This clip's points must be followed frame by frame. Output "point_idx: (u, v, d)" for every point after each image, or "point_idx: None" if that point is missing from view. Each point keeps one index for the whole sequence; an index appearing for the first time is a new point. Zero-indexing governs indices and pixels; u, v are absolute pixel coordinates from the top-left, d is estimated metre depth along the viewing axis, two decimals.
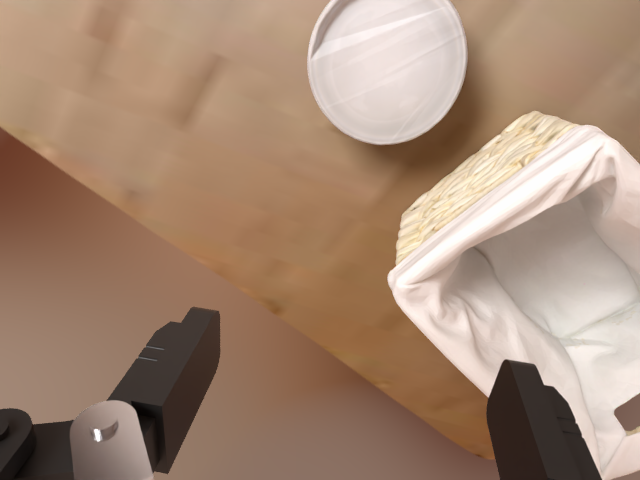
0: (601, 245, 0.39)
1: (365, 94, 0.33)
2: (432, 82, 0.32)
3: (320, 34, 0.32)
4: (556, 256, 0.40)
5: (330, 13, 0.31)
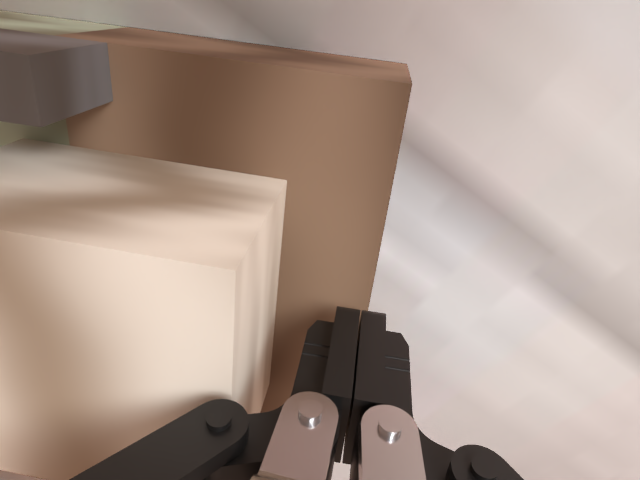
0: None
1: None
2: None
3: None
4: None
5: None
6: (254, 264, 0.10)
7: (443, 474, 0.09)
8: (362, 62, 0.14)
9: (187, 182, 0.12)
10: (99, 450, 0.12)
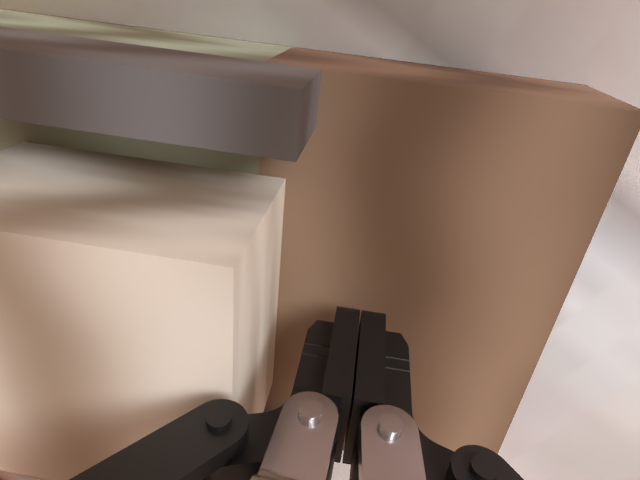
0: None
1: None
2: None
3: None
4: None
5: None
6: (253, 262, 0.11)
7: (443, 474, 0.09)
8: (551, 85, 0.14)
9: (186, 182, 0.12)
10: (102, 450, 0.12)
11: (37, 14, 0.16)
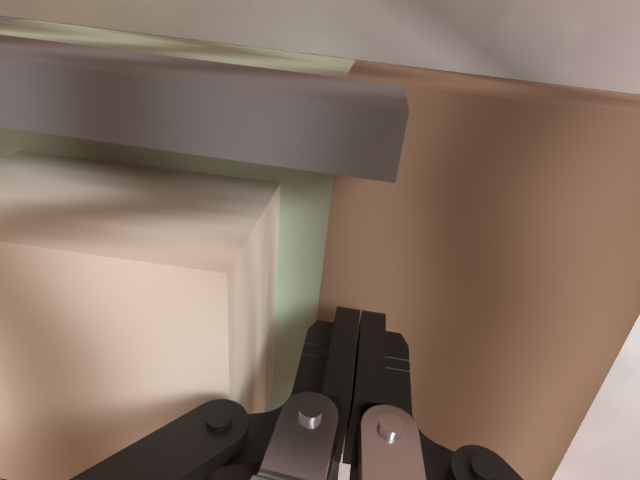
0: None
1: None
2: None
3: None
4: None
5: None
6: (248, 267, 0.11)
7: (443, 474, 0.09)
8: (624, 97, 0.14)
9: (181, 188, 0.12)
10: (102, 457, 0.12)
11: (96, 28, 0.16)
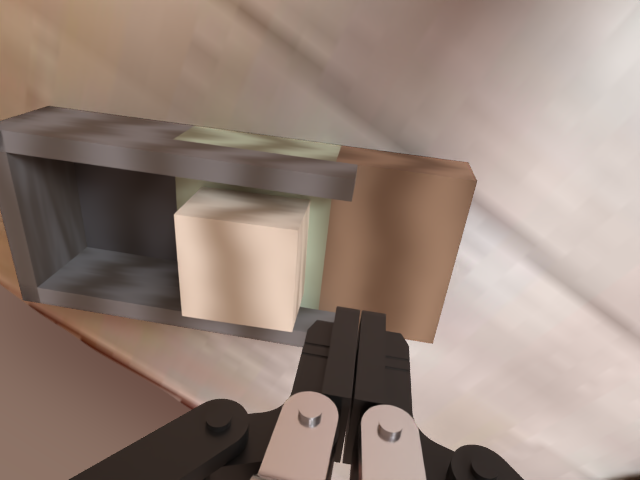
0: None
1: None
2: None
3: None
4: None
5: None
6: (301, 230, 0.30)
7: (443, 474, 0.09)
8: (450, 164, 0.33)
9: (272, 202, 0.32)
10: (244, 304, 0.32)
11: (226, 130, 0.35)
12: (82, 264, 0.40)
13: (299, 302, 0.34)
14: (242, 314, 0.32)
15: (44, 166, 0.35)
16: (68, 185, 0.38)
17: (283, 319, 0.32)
